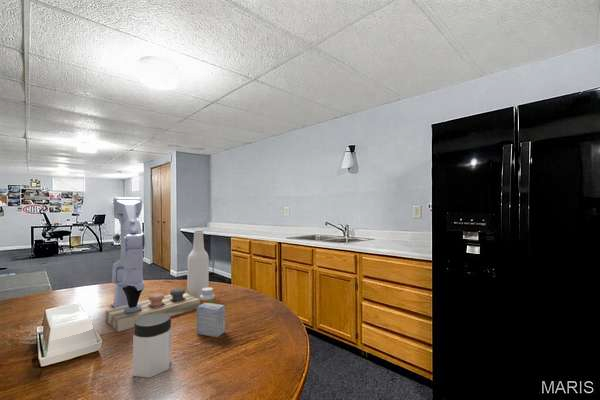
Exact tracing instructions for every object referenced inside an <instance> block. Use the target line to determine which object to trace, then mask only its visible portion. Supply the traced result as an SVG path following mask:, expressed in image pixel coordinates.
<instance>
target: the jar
mask: <svg viewBox="0 0 600 400" xmlns="http://www.w3.org/2000/svg"><path fill="white" fill-rule="evenodd" d="M133 330H134V331H133V333H134V335H133V336H132V376H133V377H138V378H139V377H140V378H147V379H148V378H149V379H150V378H152V377H154V376H157V375H159V374H161V373H163V372H166V371H168V370H169V369H170V364H171V356H172V354H171V352H172V349H171V348H172V339H171V338H172V316H170V315H168V314H151V315H147V316H144V317H141V318H139V319H138V320H136V321H135V323H134V327H133Z"/></svg>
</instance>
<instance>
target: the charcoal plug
mask: <svg viewBox="0 0 600 400" xmlns="http://www.w3.org/2000/svg"><path fill="white" fill-rule="evenodd" d="M184 293H186V289H184V288H174V289H171V290H170V294H169V295H172V301H173V302H178V301H182V300H183V294H184Z"/></svg>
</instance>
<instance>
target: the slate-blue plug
mask: <svg viewBox="0 0 600 400" xmlns="http://www.w3.org/2000/svg"><path fill="white" fill-rule="evenodd" d="M140 310H141V305H140V304H137V306H136V307H132V308H130V307H129V306H126V307H124V312H125V313H126V314H127V315H128V314H132V313H136V312H139V311H140Z"/></svg>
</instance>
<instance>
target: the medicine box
mask: <svg viewBox="0 0 600 400" xmlns="http://www.w3.org/2000/svg"><path fill="white" fill-rule="evenodd" d="M225 332H226V305H225V304H220V303H219V304H218V303H215V304H212V303H204V304H202V305H200V306H198V307H197V309H196V334H197V335H201V336H202V335H203V336H206V337H207V336H208V337H213V338H218V337H219V338H220V337H221V335H223V334H224V333H225Z"/></svg>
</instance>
